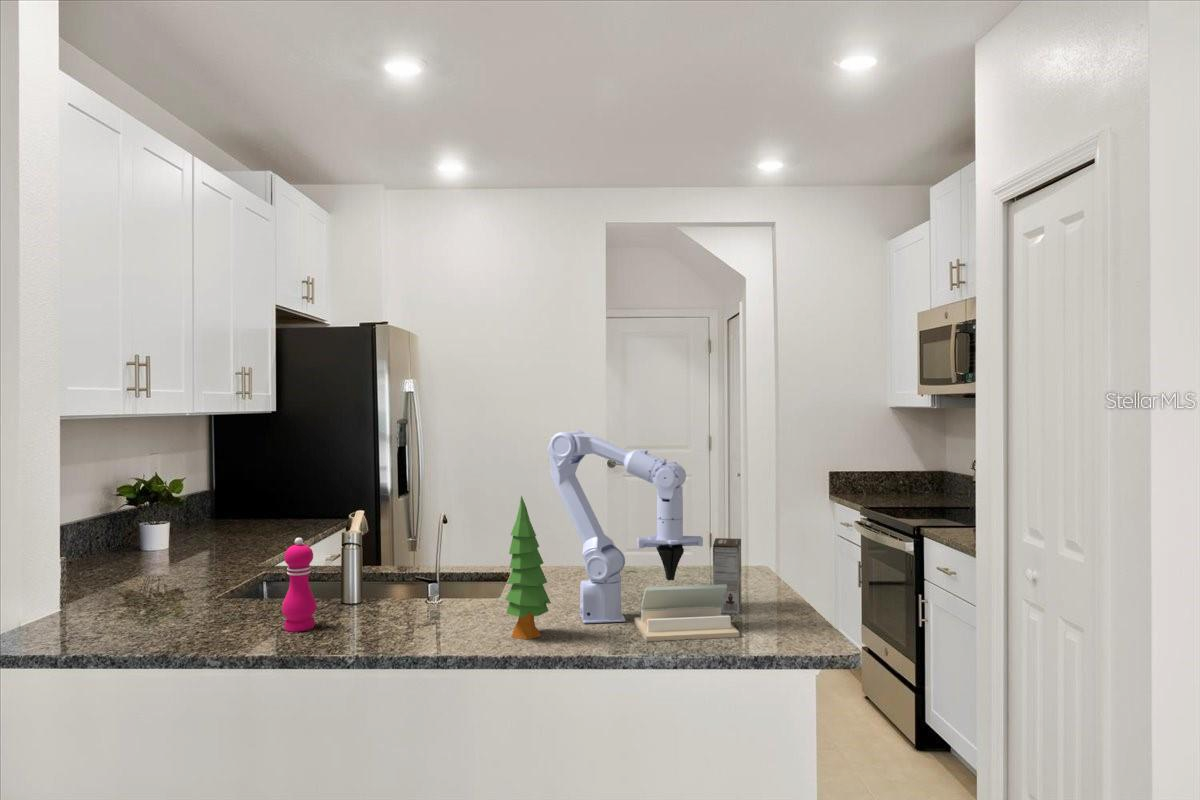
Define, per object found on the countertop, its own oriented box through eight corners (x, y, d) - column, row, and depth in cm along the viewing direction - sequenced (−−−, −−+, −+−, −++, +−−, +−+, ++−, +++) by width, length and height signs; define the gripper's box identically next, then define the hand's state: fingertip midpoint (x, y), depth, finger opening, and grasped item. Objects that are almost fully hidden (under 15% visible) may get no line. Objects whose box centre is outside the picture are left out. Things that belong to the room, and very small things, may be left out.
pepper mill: (284, 634, 175) (283, 541, 174) (280, 625, 181) (279, 536, 181) (319, 629, 178) (318, 538, 178) (314, 621, 184) (313, 533, 184)
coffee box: (715, 602, 199) (714, 537, 199) (741, 603, 198) (741, 538, 197) (712, 612, 190) (712, 544, 190) (740, 614, 189) (740, 545, 188)
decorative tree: (510, 628, 178) (509, 492, 178) (552, 628, 178) (552, 492, 178) (503, 642, 169) (502, 498, 168) (548, 642, 168) (548, 498, 168)
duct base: (646, 641, 169) (646, 624, 169) (634, 622, 183) (634, 606, 183) (739, 637, 171) (739, 620, 171) (720, 618, 185) (720, 603, 185)
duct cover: (646, 590, 174) (645, 587, 175) (641, 609, 180) (640, 606, 180) (727, 587, 176) (726, 584, 177) (720, 606, 182) (719, 603, 183)
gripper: (641, 521, 174) (641, 584, 174) (706, 519, 176) (706, 582, 177) (634, 516, 181) (635, 577, 181) (697, 514, 183) (698, 574, 184)
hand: (670, 579), depth 179 cm, fingers closed
